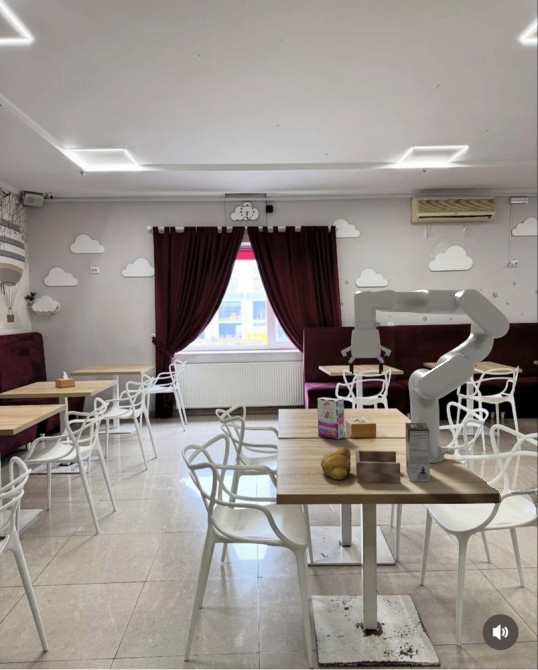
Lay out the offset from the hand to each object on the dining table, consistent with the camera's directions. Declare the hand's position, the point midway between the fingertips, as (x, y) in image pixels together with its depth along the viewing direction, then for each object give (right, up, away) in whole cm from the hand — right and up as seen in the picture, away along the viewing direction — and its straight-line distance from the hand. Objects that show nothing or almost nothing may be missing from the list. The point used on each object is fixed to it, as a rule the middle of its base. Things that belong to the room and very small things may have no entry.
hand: (366, 374), depth 158 cm
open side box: (0, -31, -17) cm, 35 cm away
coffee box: (+12, -31, -19) cm, 38 cm away
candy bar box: (-8, -30, +32) cm, 44 cm away
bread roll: (-13, -31, -15) cm, 37 cm away
